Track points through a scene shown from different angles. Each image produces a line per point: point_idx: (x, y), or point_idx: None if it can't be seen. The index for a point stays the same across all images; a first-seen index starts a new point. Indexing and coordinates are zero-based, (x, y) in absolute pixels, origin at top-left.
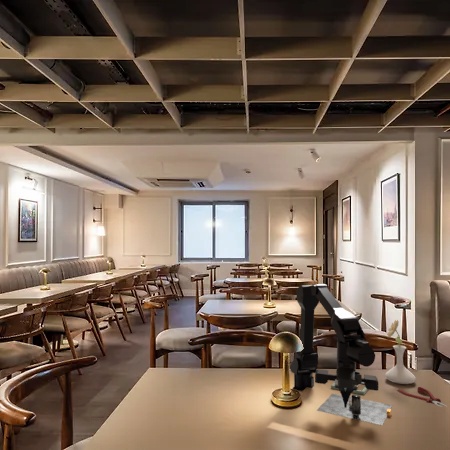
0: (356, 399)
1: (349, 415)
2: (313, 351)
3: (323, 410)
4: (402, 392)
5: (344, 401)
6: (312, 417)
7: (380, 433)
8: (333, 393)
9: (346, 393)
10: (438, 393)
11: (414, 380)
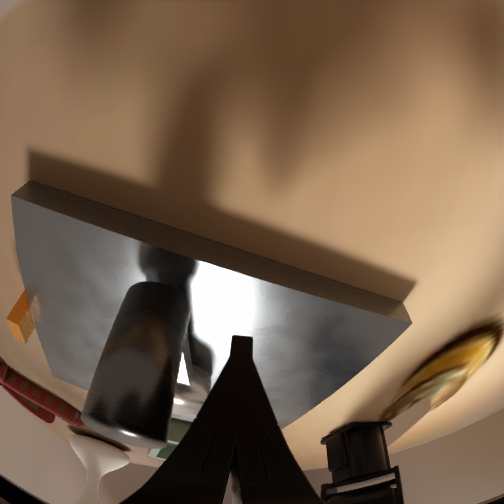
0: (112, 398)
1: (213, 297)
2: None
3: (376, 328)
4: (63, 417)
5: (251, 384)
6: (435, 273)
7: (33, 138)
8: None
9: (222, 475)
10: None
11: (69, 438)
